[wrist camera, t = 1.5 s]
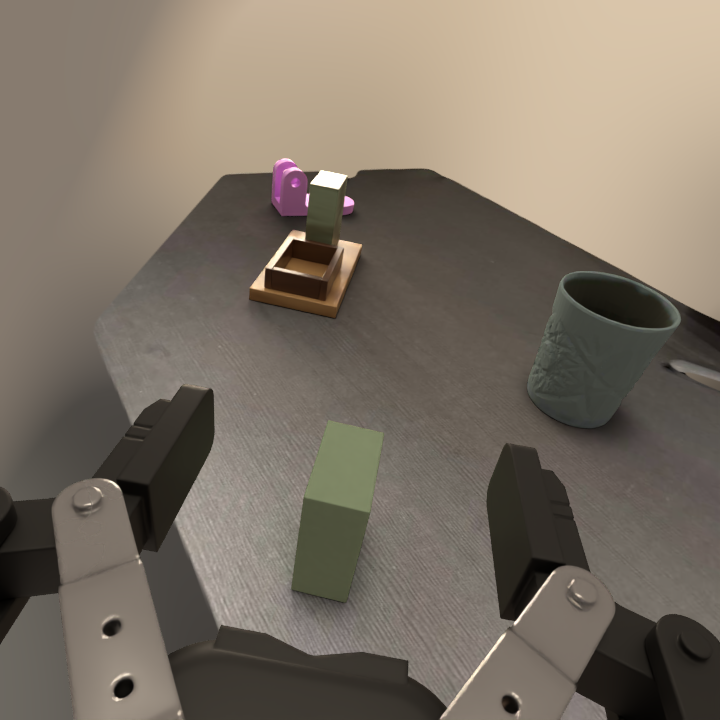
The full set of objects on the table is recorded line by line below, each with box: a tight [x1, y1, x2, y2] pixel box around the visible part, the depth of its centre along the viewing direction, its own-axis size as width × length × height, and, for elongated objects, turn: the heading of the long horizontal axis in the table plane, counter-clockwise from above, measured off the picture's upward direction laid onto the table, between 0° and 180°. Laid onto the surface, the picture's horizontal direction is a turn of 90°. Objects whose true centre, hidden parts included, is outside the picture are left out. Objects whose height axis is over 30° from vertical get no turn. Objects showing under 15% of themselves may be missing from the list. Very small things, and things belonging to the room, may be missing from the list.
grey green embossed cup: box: [527, 271, 681, 428], centre depth 48 cm, size 10×10×12 cm
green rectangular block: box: [291, 421, 384, 603], centre depth 31 cm, size 6×4×9 cm, turn 171°
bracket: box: [272, 158, 354, 216], centre depth 81 cm, size 13×6×7 cm, turn 114°
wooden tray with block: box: [249, 170, 362, 318], centre depth 62 cm, size 18×10×10 cm, turn 171°
